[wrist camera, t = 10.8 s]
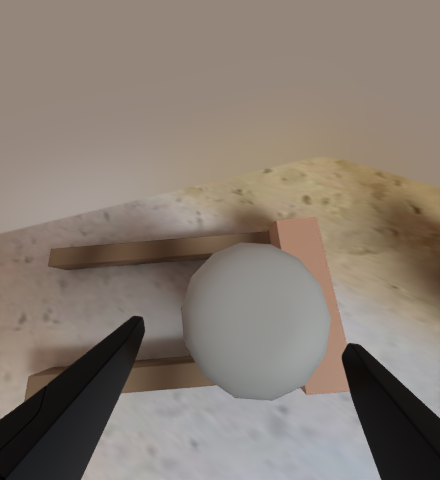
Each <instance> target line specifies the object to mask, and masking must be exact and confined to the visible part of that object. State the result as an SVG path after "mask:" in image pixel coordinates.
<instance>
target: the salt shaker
mask: <svg viewBox="0 0 440 480" xmlns="http://www.w3.org/2000/svg"><path fill="white" fill-rule="evenodd" d="M181 310H182V321H183V333H184V344H185V346H186V347H187V349H188V351H189V352H190V354H191V356H192V357H193V359H194V361H195V362H196V364H197V366H198V367H199V369H200V371H201V372H202V374H203V376H204V377H206V378H207V379H208V380H210V381H211V382H213V383H214V384H216V385H217V386H219V387H220V388H222V389H223V390H224V391H226V392H227V393H229V394H230V395H232V396H233V397H235V398H244V399H258V400H275V399H277V398H279V397H281V396H283V395H285V394H287V393H290V392H292V391H294V390H296V389H298V388H300V387H302V386H305V385H306V384H307V382H308V381H309V379H310V378H311V376H312V375H313V373H314V372H315V370H316V369H317V367H318V366H319V364H320V363H321V361H322V360H323V358H324V357H325V355H326V350H327V343H328V336H329V329H330V322H331V317H330V314H329V310H328V307H327V304H326V301H325V298H324V295H323V291H322V288H321V285H320V284H319V282H318V281H317V280H316V279H315V277H314V276H313V275H312V274H311V272H310V271H309V270H308V269H307V268H306V266H305V265H304V264H303V263H302V261H301V260H300V259H299V258H297V257H295V256H293V255H291V254H289V253H287V252H285V251H283V250H281V249H279V248H277V247H275V246H273V245H271V244H256V243H238V244H236V245H233V246H231V247H228V248H226V249H224V250H221V251H219V252H216V253H214V254H212V255H211V256H210V258H209V259H208V260H207V261H206V262H205V263H204V264H203V265H202V266H201V267H200V268H199V269H198V270H197V271H196V272H195V273H194V274H193V275H192V276H191V279H190V283H189V286H188V289H187V292H186V295H185V298H184V301H183V305H182V308H181Z"/></svg>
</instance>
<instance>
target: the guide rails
mask: <svg viewBox="0 0 440 480" xmlns="http://www.w3.org/2000/svg"><path fill="white" fill-rule="evenodd" d="M238 243H256V244H271V241H270V235H269V232H256V233H244V234H232V235H219V236H207V237H194V238H182V239H169V240H157V241H145V242H132V243H120V244H107V245H95V246H83V247H70V248H58V249H51V252H50V258H49V264H48V266H49V267H54V268H59V269H64V270H71V269H84V268H96V267H108V266H121V265H133V264H145V263H158V262H170V261H182V260H195V259H207V258H210V256H211V255H212V254H214V253H216V252H219V251H221V250H224V249H226V248H228V247H231V246H233V245H236V244H238ZM68 367H69V366H66V367H54V368H50V369H47V370H44V371H42V372H39V373H37V374H34V375H31V376H29V377H28V383H27V389H26V394H25V400H24V401H26V400H27V399H29V398H30V397H31V396H32V395H34V394H35V393H36V392H38V391H39V390H40V389H41V388H43V387H44V386H46V385H47V384H48V383H49V382H50V381H52V380H53V379H54V378H55V377H57V376H58V375H59V374H60V373H62V372H63V371H64V370H66V369H67V368H68ZM214 385H216V384H214V383H213V382H211V381H210V380H208V379H207V378H206V377H204V376H203V374H202V372H201V371H200V369H199V367H198V366H197V364H196V362H195V361H194V359H193V357H192V356H186V357H174V358H162V359H150V360H138V361H135V362H134V365H133V367H132V370H131V372H130V375H129V377H128V379H127V381H126V383H125V385H124V388H123V390H122V392H121V393H130V392H142V391H154V390H166V389H178V388H190V387H202V386H214Z"/></svg>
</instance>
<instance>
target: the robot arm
mask: <svg viewBox="0 0 440 480" xmlns="http://www.w3.org/2000/svg"><path fill="white" fill-rule="evenodd" d="M144 333H145V326H144V320H143V317H140V316H133V317H131V318H130V319H129V320H128V321H126V322H125V323H124V324H123V325H121V326H120V327H119V328H117V329H116V330H115V331H114V332H112V333H111V334H110V335H109V336H107V337H106V338H105V339H104V340H102V341H101V342H100V343H98V344H97V345H96V346H95V347H93V348H92V349H91V350H90V351H88V352H87V353H86V354H85V355H83V356H82V357H81V358H79V359H78V360H77V361H76V362H74V363H73V364H72V365H71V366H69V367H68V368H67V369H66V370H64V371H63V372H62V373H60V374H59V375H58V376H57V377H55V378H54V379H53V380H52V381H50V382H49V383H48V384H47V385H46V386H44V387H43V388H41V389H40V390H39V391H38V392H36V393H35V394H34V395H32V396H31V397H30V398H29V399H27V400H26V401H25V402H23V403H22V404H21V405H19V406H18V407H17V408H15V409H14V410H13V411H11V412H10V413H9V414H7V415H6V416H4V417H3V418H2V419H0V480H81V478H82V476H83V474H84V472H85V469H86V467H87V465H88V463H89V461H90V459H91V457H92V454H93V452H94V450H95V448H96V446H97V444H98V441H99V439H100V437H101V435H102V433H103V431H104V429H105V426H106V424H107V422H108V420H109V418H110V416H111V413H112V411H113V409H114V407H115V405H116V403H117V401H118V398H119V396H120V394H121V392H122V390H123V388H124V385H125V383H126V381H127V379H128V377H129V375H130V372H131V370H132V367H133V365H134V362H135V359H136V356H137V353H138V350H139V348H140V345H141V342H142V339H143V336H144ZM342 363H343V367H344V370H345V374H346V378H347V382H348V386H349V389H350V393H351V397H352V400H353V403H354V406H355V409H356V412H357V414H358V417H359V420H360V423H361V425H362V428H363V431H364V434H365V436H366V439H367V442H368V445H369V447H370V450H371V453H372V456H373V458H374V461H375V464H376V467H377V469H378V472H379V475H380V478H381V480H440V418H439V417H438V416H437V415H436V414H435V413H433V412H432V411H431V410H430V409H429V408H428V407H427V406H426V405H425V404H424V403H423V402H422V401H421V400H419V399H418V398H417V397H416V396H415V395H414V394H413V393H412V392H411V391H410V390H409V389H408V388H406V387H405V386H404V385H403V384H402V383H401V382H400V381H399V380H398V379H397V378H396V377H395V376H393V375H392V374H391V373H390V372H389V371H388V370H387V369H386V368H385V367H384V366H383V365H382V364H380V363H379V362H378V361H377V360H376V359H375V358H374V357H373V356H372V355H371V354H370V353H369V352H368V351H366V350H365V349H364V348H363V347H362V346H361V345H359V344H354V343H349V344H348V345H347V346H346V348H345V350H344V352H343V353H342Z"/></svg>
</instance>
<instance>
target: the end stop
mask: <svg viewBox="0 0 440 480" xmlns="http://www.w3.org/2000/svg"><path fill="white" fill-rule="evenodd" d="M269 235H270V241H271V245H273V246H275V247H277V248H279V249H281V250H283V251H285V252H287V253H289V254H291V255H293V256H295V257H297V258H299V259H300V260H301V261H302V263H303V264H304V265H305V266H306V268H307V269H308V270H309V271H310V272H311V274H312V275H313V276H314V277H315V279H316V280H317V281H318V282H319V284H320V285H321V288H322V291H323V295H324V298H325V301H326V304H327V307H328V310H329V314H330V317H331V322H330V329H329V336H328V343H327V350H326V355H325V357H324V358H323V360H322V361H321V363H320V364H319V366H318V367H317V369H316V370H315V372H314V373H313V375H312V376H311V378H310V379H309V381H308V382H307V384H306V385H305V386H302V387H300V388H301V389H302V390H303V391H304V392H305V394H306V395H312V394H324V393H336V392H347V391H350V389H349V386H348V382H347V378H346V374H345V370H344V367H343V363H342V353H343V352H344V350H345V348H346V346H347V343H346V339H345V335H344V330H343V326H342V322H341V318H340V314H339V310H338V305H337V301H336V297H335V293H334V289H333V284H332V280H331V276H330V272H329V268H328V264H327V259H326V255H325V251H324V247H323V243H322V238H321V234H320V230H319V226H318V222H317V218H316V217H311V218H298V219H286V220H276V221H275V223H274V225H273V226H272V228H271V229H270V231H269Z"/></svg>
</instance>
